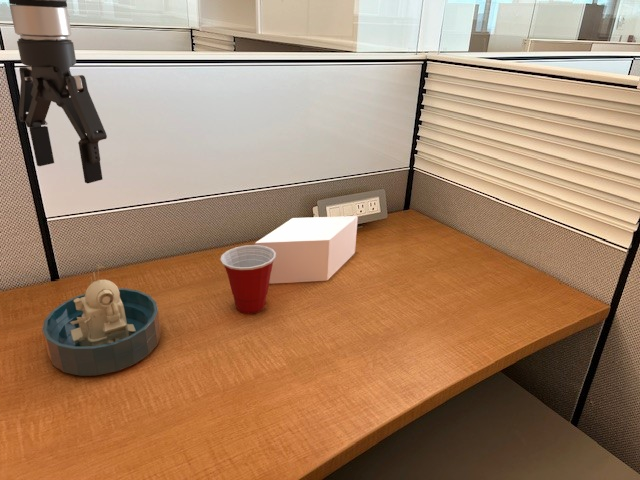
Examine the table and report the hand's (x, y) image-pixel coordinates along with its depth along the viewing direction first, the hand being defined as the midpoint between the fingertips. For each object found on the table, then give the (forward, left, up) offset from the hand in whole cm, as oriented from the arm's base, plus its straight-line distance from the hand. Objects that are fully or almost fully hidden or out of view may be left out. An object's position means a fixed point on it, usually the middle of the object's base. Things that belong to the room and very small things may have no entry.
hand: (68, 172), depth 82 cm
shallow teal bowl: (+10, -5, -29) cm, 31 cm away
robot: (+10, -5, -28) cm, 30 cm away
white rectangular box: (+24, +40, -29) cm, 55 cm away
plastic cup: (+23, +19, -29) cm, 42 cm away
